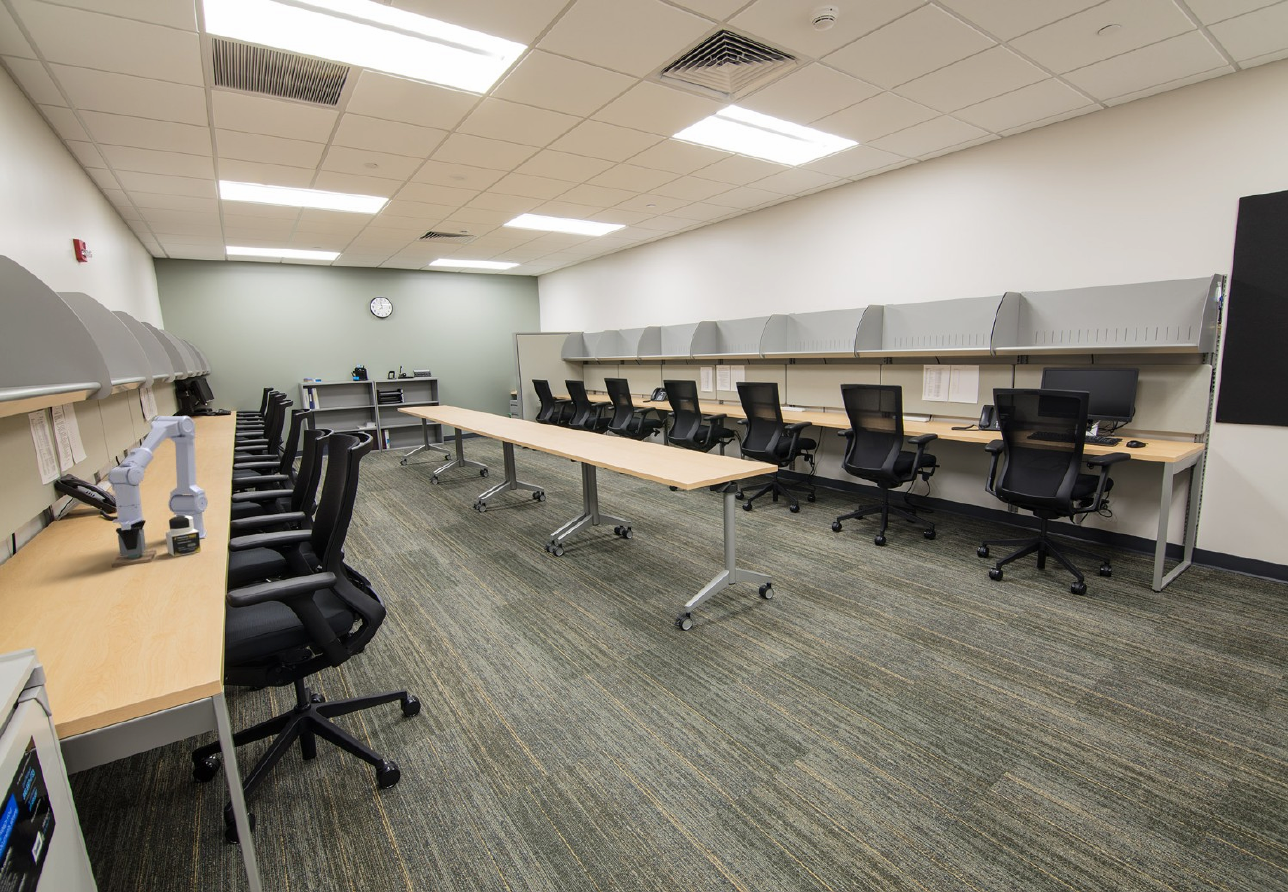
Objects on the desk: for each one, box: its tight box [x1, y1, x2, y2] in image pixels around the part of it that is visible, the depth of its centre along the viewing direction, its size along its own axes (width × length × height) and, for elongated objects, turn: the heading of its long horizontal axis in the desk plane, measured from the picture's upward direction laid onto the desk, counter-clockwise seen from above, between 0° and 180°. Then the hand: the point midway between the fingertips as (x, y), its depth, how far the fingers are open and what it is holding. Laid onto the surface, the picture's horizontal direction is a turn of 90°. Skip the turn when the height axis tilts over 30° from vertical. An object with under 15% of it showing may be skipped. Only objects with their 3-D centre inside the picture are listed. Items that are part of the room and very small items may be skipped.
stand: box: [111, 549, 157, 568], centre depth 177 cm, size 10×9×6 cm
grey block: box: [117, 528, 147, 556], centre depth 176 cm, size 5×5×7 cm
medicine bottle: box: [165, 516, 202, 558], centre depth 184 cm, size 7×7×12 cm
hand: (133, 546), depth 177 cm, fingers closed on grey block, 5 cm apart
